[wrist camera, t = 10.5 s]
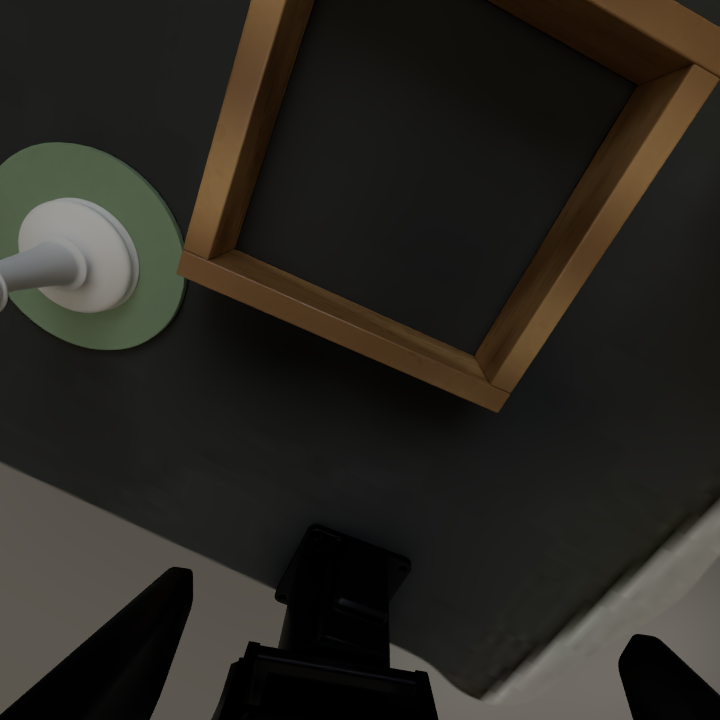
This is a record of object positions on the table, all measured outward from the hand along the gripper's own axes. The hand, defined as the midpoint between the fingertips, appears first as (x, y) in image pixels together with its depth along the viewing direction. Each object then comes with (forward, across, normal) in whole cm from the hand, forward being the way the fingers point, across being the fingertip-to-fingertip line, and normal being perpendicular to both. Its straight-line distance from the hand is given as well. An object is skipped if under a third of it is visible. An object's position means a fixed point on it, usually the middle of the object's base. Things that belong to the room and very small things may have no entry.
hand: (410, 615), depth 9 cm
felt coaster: (+13, +14, -3) cm, 20 cm away
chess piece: (+13, +14, -3) cm, 19 cm away
